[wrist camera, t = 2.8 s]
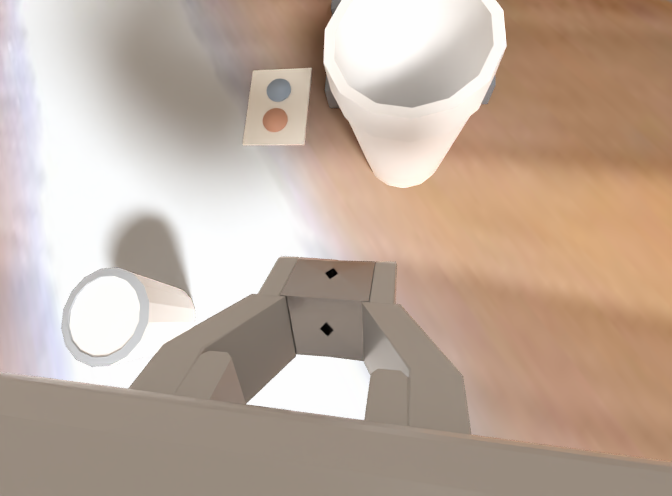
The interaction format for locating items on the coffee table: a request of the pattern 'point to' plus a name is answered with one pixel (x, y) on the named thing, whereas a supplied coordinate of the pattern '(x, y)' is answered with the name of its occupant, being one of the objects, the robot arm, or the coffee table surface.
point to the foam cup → (411, 76)
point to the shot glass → (123, 317)
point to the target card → (278, 107)
